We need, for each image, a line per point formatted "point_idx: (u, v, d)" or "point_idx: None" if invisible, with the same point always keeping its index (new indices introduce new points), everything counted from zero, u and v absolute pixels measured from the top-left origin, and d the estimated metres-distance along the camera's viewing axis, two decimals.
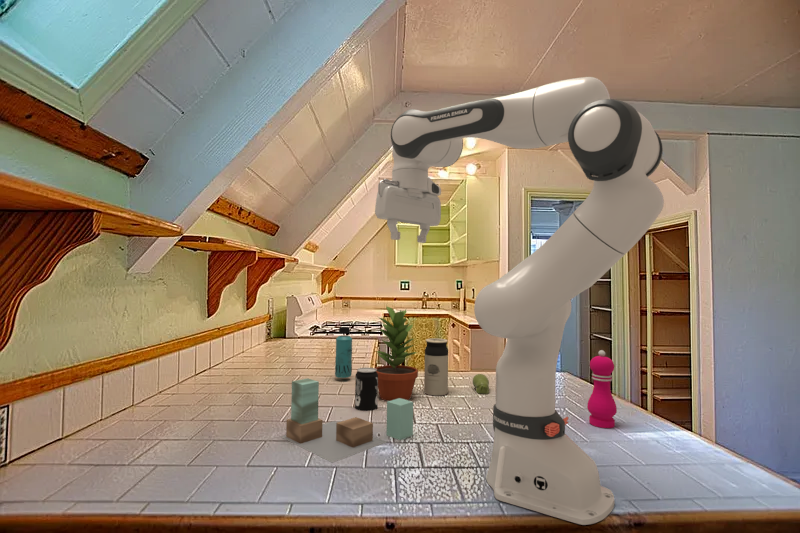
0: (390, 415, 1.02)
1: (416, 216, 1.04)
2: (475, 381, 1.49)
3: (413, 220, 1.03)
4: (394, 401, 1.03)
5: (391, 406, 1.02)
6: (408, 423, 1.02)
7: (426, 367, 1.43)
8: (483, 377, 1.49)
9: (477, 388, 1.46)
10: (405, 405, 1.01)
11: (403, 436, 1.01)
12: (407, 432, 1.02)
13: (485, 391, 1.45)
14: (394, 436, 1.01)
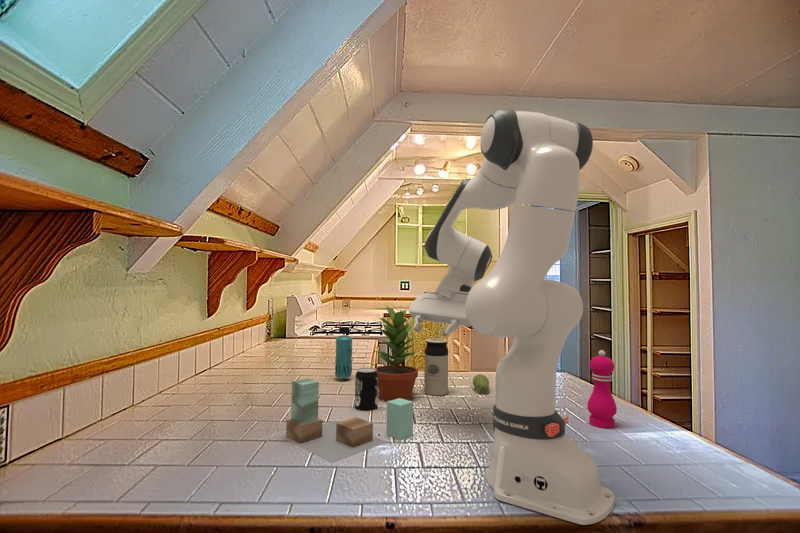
0: (390, 415, 1.02)
1: (439, 310, 1.14)
2: (475, 381, 1.48)
3: (434, 314, 1.14)
4: (394, 401, 1.03)
5: (391, 406, 1.02)
6: (408, 423, 1.02)
7: (426, 367, 1.43)
8: (483, 377, 1.49)
9: (477, 388, 1.46)
10: (405, 405, 1.01)
11: (403, 436, 1.01)
12: (407, 432, 1.02)
13: (485, 391, 1.45)
14: (394, 436, 1.01)
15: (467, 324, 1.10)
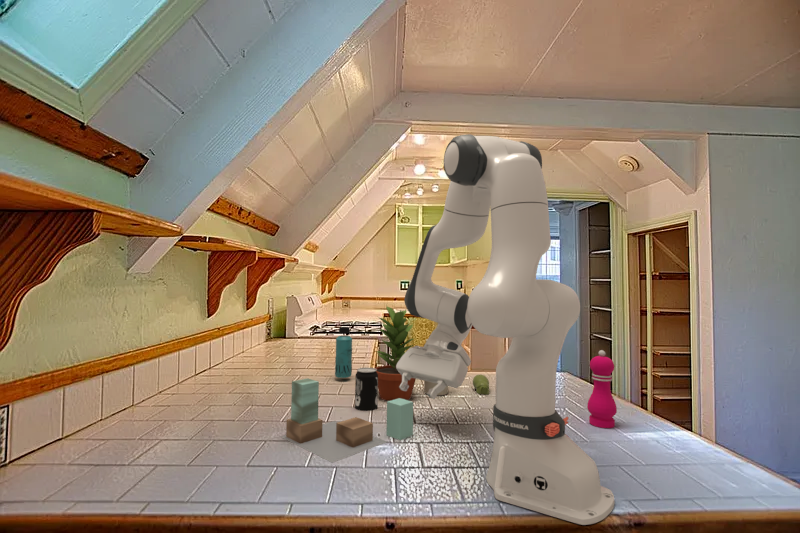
0: (390, 415, 1.02)
1: (425, 369, 1.10)
2: (475, 382, 1.48)
3: (421, 373, 1.10)
4: (394, 401, 1.03)
5: (391, 406, 1.02)
6: (408, 423, 1.02)
7: None
8: (483, 378, 1.48)
9: (477, 389, 1.45)
10: (405, 405, 1.01)
11: (403, 436, 1.01)
12: (407, 432, 1.02)
13: (485, 392, 1.44)
14: (394, 436, 1.01)
15: (453, 386, 1.04)
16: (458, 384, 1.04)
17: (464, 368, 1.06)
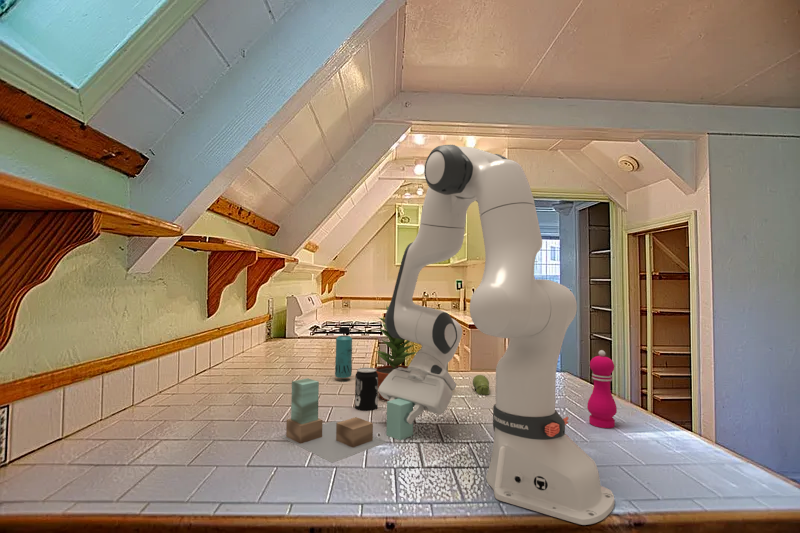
0: (390, 415, 1.02)
1: (408, 394, 1.05)
2: (475, 382, 1.47)
3: (403, 397, 1.05)
4: (394, 401, 1.03)
5: (391, 406, 1.02)
6: None
7: None
8: (483, 378, 1.48)
9: (477, 389, 1.45)
10: (405, 405, 1.01)
11: (403, 436, 1.01)
12: (407, 432, 1.02)
13: (486, 392, 1.44)
14: (394, 436, 1.01)
15: (437, 412, 0.99)
16: (441, 410, 0.99)
17: (448, 393, 1.02)
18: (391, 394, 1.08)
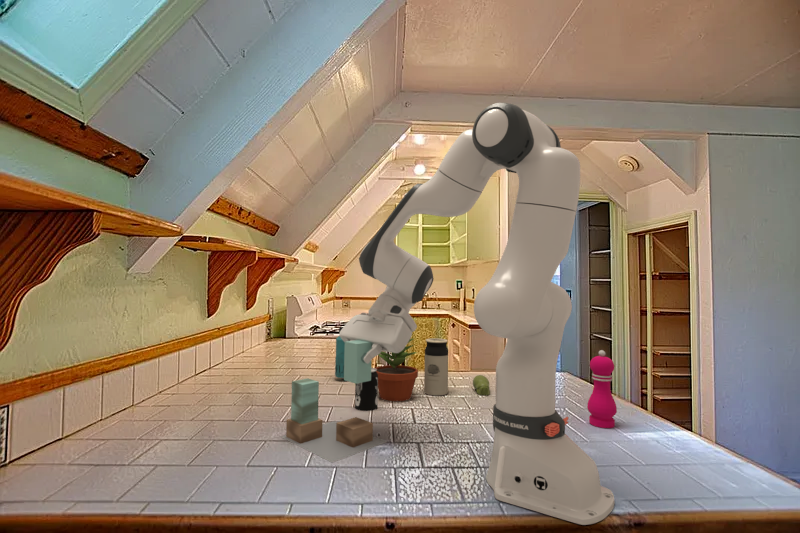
0: (347, 355, 1.00)
1: (367, 335, 1.02)
2: (475, 382, 1.47)
3: (362, 338, 1.02)
4: (352, 341, 1.01)
5: (348, 345, 0.99)
6: (366, 363, 0.99)
7: (426, 367, 1.43)
8: (483, 378, 1.47)
9: (478, 389, 1.44)
10: (362, 344, 0.98)
11: (359, 375, 0.98)
12: (364, 373, 0.99)
13: (486, 392, 1.43)
14: (351, 376, 0.98)
15: (394, 350, 0.96)
16: (399, 349, 0.96)
17: (407, 333, 0.99)
18: (351, 336, 1.05)
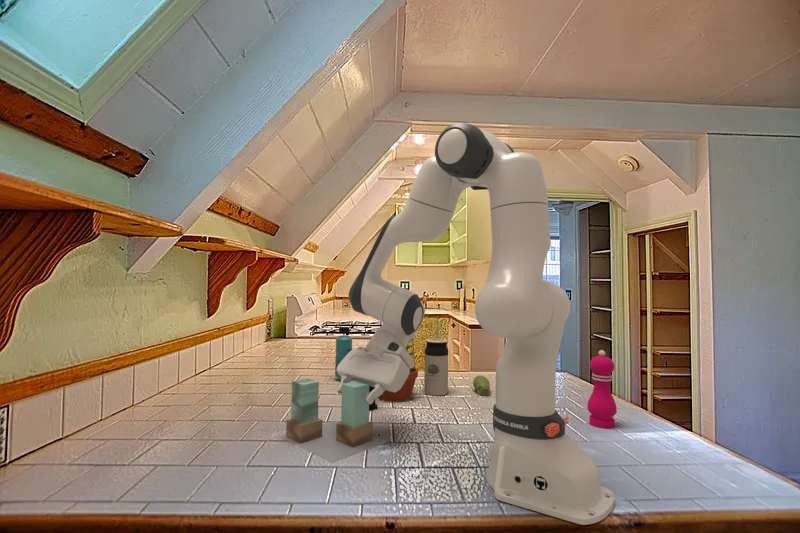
0: (344, 398, 0.99)
1: (364, 372, 1.01)
2: (476, 383, 1.46)
3: (359, 376, 1.01)
4: (349, 383, 1.00)
5: (346, 388, 0.98)
6: (363, 406, 0.98)
7: (426, 367, 1.43)
8: (484, 379, 1.47)
9: (478, 390, 1.44)
10: (360, 387, 0.98)
11: (357, 419, 0.97)
12: (362, 416, 0.98)
13: (486, 393, 1.42)
14: (348, 419, 0.97)
15: (392, 390, 0.96)
16: (396, 388, 0.95)
17: (405, 371, 0.98)
18: (348, 373, 1.04)
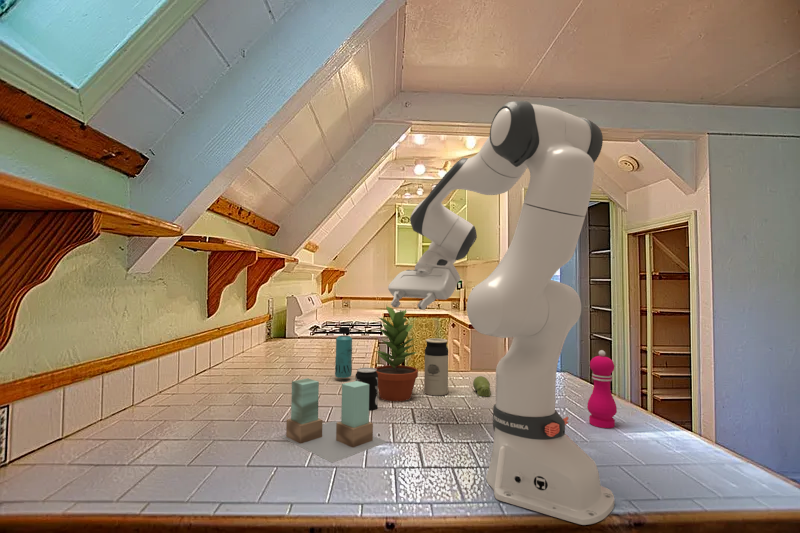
0: (344, 398, 0.99)
1: (416, 285, 1.13)
2: (476, 383, 1.45)
3: (412, 289, 1.13)
4: (349, 383, 1.00)
5: (346, 388, 0.98)
6: (363, 406, 0.98)
7: (426, 367, 1.43)
8: (484, 379, 1.46)
9: (478, 391, 1.43)
10: (360, 387, 0.98)
11: (357, 419, 0.97)
12: (362, 416, 0.98)
13: (487, 394, 1.42)
14: (348, 419, 0.97)
15: (443, 297, 1.08)
16: (447, 295, 1.08)
17: (453, 282, 1.10)
18: (400, 288, 1.16)
